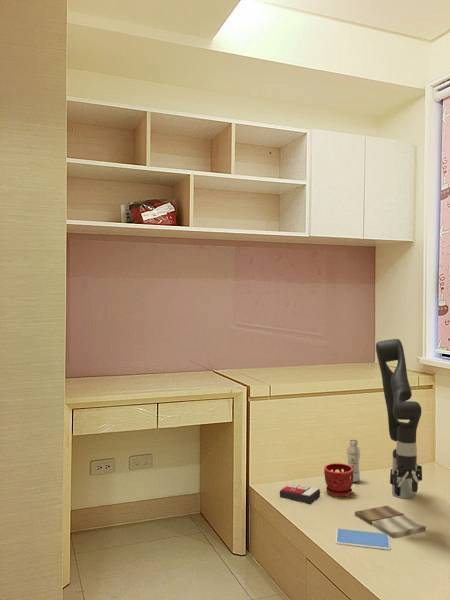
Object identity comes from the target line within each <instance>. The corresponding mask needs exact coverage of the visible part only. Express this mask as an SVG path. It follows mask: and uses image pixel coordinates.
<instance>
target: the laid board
mask: <svg viewBox="0 0 450 600" xmlns="http://www.w3.org/2000/svg"><path fill="white" fill-rule="evenodd" d="M401 515H405V514H404V513H402V512H400V511H399V510H397V509H395V508H393V507H392V506H389V505H383V506H377V507H372V508H368V509H362V510H356V511H354V516H355V517H357V518H358V519H360V520H362V521H363V522H365V523H367V524H369V525H370V526H372V521H376V520H381V519H386V518H391V517H396V516H401Z"/></svg>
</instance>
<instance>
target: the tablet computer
mask: <svg viewBox="0 0 450 600" xmlns="http://www.w3.org/2000/svg"><path fill="white" fill-rule="evenodd" d="M390 543H391V542H390V536H389V535H388V534H385V533H384V532H383V533H382V532H373V531H365V530H363V531H362V530H354V529H344V528H336V536H335V544H336V545H342V546H351V547H361V548H368V549H376V550H377V549H378V550H386V551H390V550H391V549H392V548H391V544H390Z"/></svg>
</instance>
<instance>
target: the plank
mask: <svg viewBox="0 0 450 600" xmlns="http://www.w3.org/2000/svg"><path fill="white" fill-rule="evenodd" d="M371 526H372V527H374V528H376V529H377V530H379V531H381V533H382V532H383V533H384V534H388V535H389V538H392V539H394V538H400V537H403V536H408V535H412V534H417V533H421V532H425V531H427V526H425V525H424V524H422V523H420V522H418V521H416V520H414V519H412V518H411V517H409V516H408V515H405V514H404V515H401V516H396V517H391V518H386V519H381V520H376V521H372V525H371Z"/></svg>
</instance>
